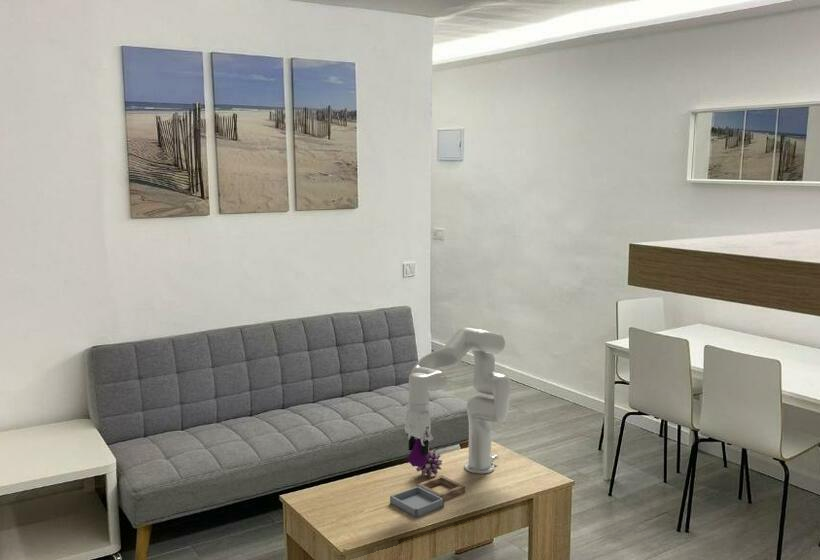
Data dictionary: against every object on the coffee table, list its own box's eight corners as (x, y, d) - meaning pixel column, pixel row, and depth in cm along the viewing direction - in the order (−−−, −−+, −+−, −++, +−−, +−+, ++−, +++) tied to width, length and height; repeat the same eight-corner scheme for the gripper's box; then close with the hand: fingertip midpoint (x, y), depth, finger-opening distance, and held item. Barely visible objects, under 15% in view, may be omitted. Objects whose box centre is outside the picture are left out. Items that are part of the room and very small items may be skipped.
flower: (448, 475, 308) (448, 448, 306) (429, 484, 299) (430, 456, 297) (427, 467, 315) (427, 441, 313) (408, 476, 306) (408, 449, 305)
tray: (417, 493, 291) (417, 485, 290) (443, 506, 280) (444, 499, 279) (390, 503, 282) (390, 496, 281) (415, 517, 271) (415, 509, 270)
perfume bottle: (430, 461, 281) (428, 415, 280) (426, 468, 274) (423, 420, 273) (411, 461, 283) (408, 415, 282) (407, 467, 276) (404, 420, 274)
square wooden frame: (441, 481, 302) (441, 475, 302) (465, 492, 292) (465, 486, 292) (416, 490, 293) (416, 484, 293) (439, 502, 283) (439, 496, 283)
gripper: (396, 402, 280) (396, 448, 282) (426, 414, 267) (425, 461, 269) (411, 398, 284) (411, 443, 287) (441, 410, 271) (441, 456, 274)
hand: (418, 451), depth 278 cm, fingers closed on perfume bottle, 6 cm apart
